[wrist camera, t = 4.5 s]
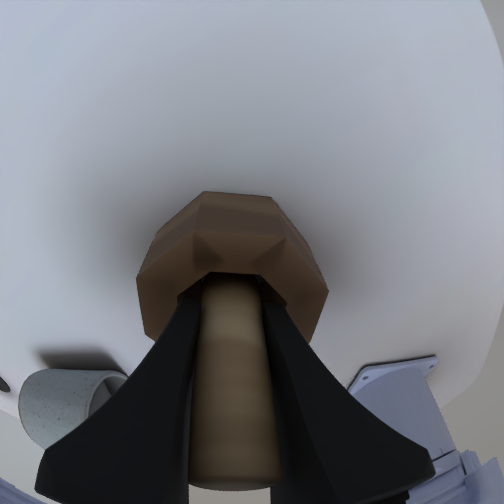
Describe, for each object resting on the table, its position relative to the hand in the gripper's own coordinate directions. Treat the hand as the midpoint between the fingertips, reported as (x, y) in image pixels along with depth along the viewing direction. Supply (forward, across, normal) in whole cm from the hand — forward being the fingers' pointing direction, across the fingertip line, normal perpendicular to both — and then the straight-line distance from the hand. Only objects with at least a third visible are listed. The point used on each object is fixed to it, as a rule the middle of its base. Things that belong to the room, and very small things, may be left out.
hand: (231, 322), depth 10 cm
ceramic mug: (+4, +10, +13) cm, 17 cm away
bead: (+4, 0, 0) cm, 4 cm away
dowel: (+2, 0, 0) cm, 2 cm away
